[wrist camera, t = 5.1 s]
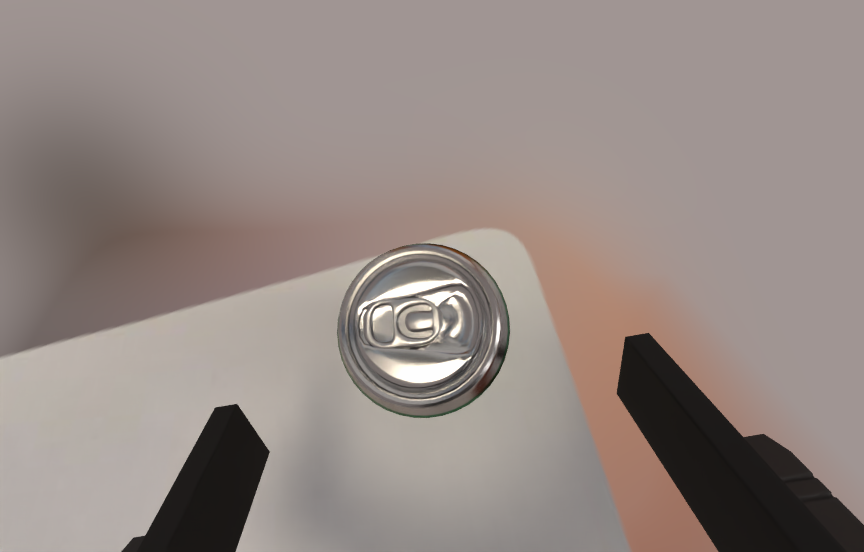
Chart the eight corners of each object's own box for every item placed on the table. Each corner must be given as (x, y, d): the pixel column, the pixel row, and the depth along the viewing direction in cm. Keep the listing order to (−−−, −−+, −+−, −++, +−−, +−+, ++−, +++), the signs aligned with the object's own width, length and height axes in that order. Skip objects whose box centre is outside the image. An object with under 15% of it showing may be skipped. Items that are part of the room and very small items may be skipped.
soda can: (488, 385, 20) (528, 417, 9) (400, 391, 21) (323, 431, 9) (479, 297, 21) (503, 222, 10) (395, 304, 22) (323, 239, 10)
